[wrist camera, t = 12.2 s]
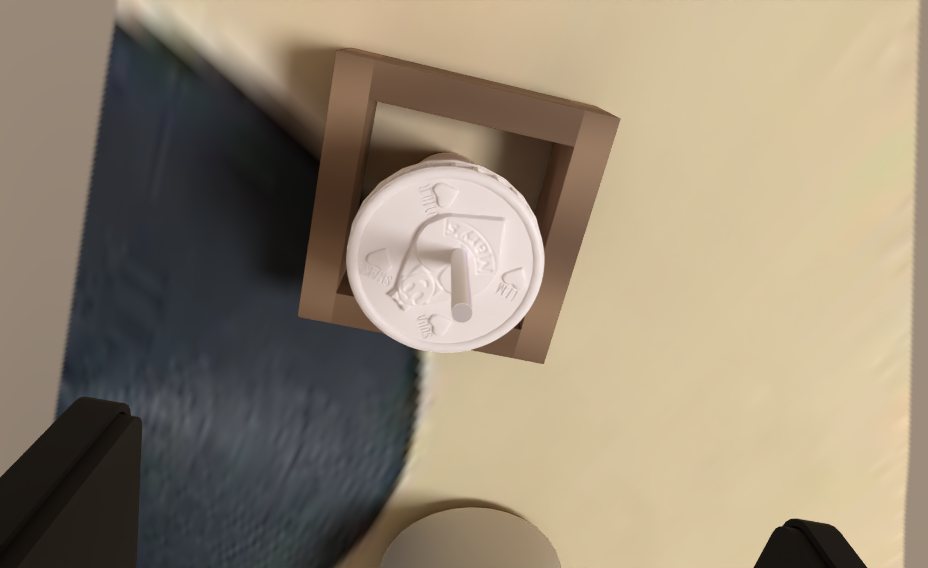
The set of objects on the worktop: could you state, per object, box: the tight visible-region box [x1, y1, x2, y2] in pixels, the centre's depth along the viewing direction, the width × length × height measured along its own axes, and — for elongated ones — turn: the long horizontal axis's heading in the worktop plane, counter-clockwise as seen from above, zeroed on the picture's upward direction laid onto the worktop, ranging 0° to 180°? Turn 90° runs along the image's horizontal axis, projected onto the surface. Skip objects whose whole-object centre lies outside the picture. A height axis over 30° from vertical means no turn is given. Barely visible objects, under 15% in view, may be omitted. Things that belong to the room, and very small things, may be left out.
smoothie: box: [346, 152, 544, 353], centre depth 22 cm, size 6×6×14 cm
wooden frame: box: [298, 48, 620, 364], centre depth 27 cm, size 11×11×4 cm
